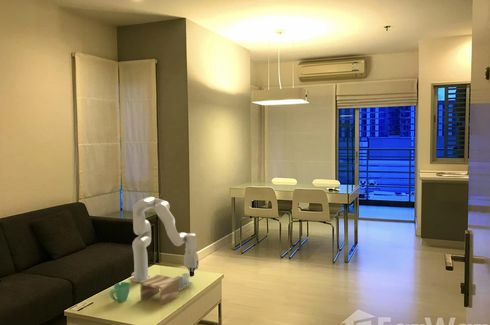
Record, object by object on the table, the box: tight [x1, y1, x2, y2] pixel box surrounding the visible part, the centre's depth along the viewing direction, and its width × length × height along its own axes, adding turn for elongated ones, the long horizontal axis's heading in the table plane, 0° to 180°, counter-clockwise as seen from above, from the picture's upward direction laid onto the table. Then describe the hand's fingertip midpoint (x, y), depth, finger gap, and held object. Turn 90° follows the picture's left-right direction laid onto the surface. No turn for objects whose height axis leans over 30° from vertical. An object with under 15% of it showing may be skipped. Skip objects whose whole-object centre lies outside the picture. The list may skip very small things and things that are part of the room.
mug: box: [109, 281, 131, 302], centre depth 255 cm, size 15×10×10 cm
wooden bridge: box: [139, 274, 180, 306], centre depth 260 cm, size 18×16×12 cm
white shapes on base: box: [174, 272, 193, 291], centre depth 277 cm, size 7×20×8 cm, turn 151°
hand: (191, 276), depth 290 cm, fingers closed
